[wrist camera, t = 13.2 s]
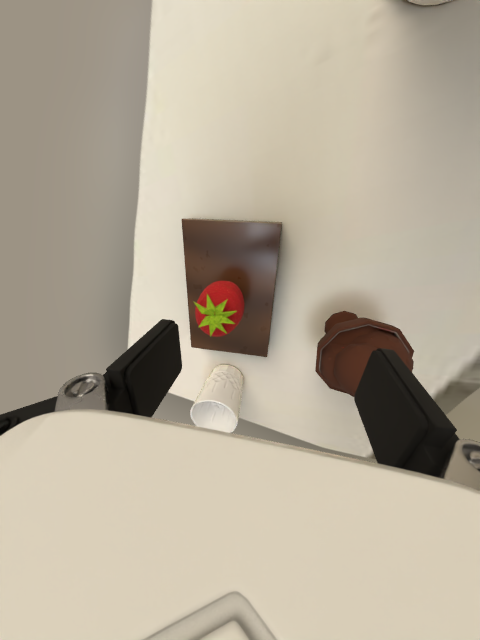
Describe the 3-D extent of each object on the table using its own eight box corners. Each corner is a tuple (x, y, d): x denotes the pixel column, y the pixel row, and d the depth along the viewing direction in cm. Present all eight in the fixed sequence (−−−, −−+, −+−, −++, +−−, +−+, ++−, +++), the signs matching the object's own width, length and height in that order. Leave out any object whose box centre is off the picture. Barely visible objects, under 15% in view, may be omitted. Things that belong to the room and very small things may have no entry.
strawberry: (203, 308, 33) (174, 341, 24) (219, 263, 30) (193, 282, 21) (237, 324, 33) (221, 362, 25) (258, 281, 30) (248, 308, 21)
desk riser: (192, 218, 32) (181, 218, 28) (281, 222, 30) (281, 223, 26) (199, 335, 40) (191, 347, 37) (268, 344, 39) (267, 357, 35)
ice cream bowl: (306, 354, 38) (320, 428, 25) (310, 294, 34) (328, 346, 20) (372, 356, 36) (424, 437, 23) (385, 293, 32) (461, 349, 18)
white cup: (222, 396, 46) (208, 439, 37) (201, 369, 44) (180, 408, 35) (253, 385, 43) (246, 428, 34) (232, 355, 41) (219, 394, 32)
